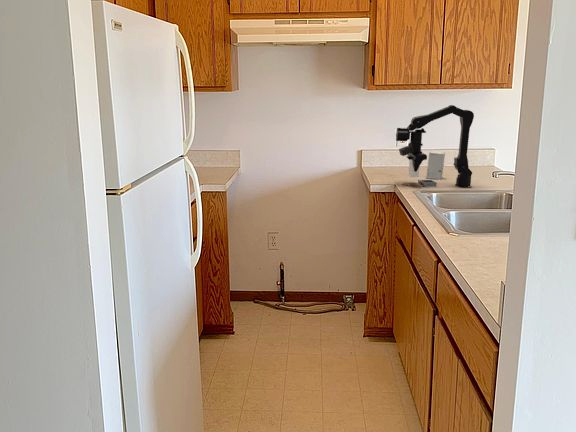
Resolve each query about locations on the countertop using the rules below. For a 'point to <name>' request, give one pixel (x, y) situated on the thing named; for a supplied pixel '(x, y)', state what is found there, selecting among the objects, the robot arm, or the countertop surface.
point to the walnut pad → (412, 184)
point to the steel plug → (412, 169)
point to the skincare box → (435, 165)
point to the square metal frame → (427, 182)
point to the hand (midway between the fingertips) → (413, 170)
